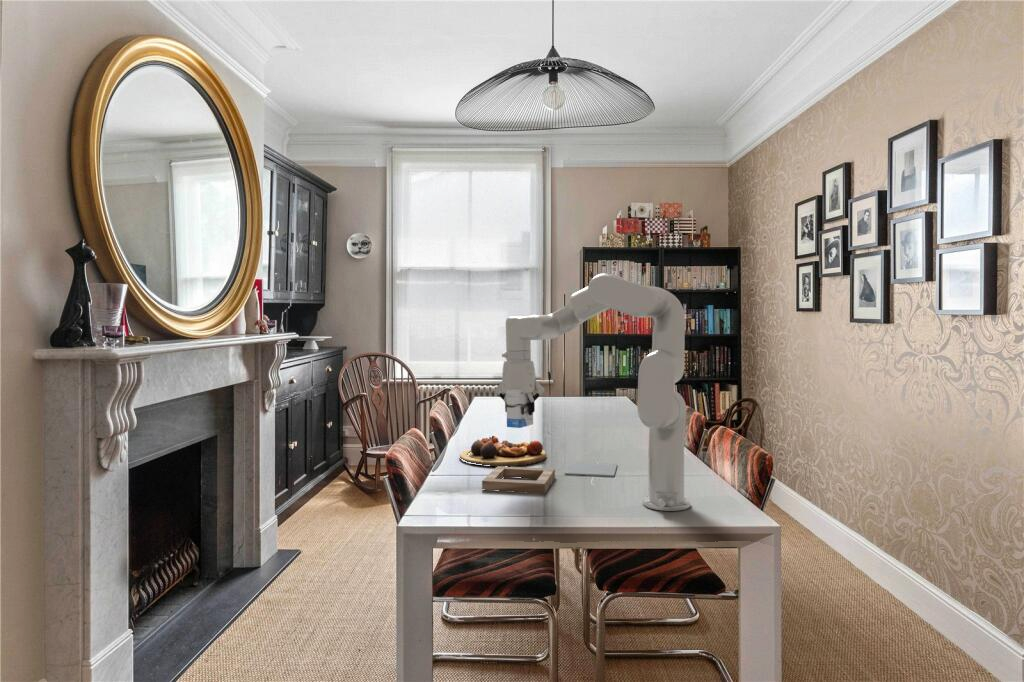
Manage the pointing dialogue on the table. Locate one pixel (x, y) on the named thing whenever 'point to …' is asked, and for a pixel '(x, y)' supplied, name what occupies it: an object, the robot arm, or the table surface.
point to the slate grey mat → (591, 469)
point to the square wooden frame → (539, 486)
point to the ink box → (518, 409)
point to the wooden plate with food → (503, 453)
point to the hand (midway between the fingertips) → (520, 414)
